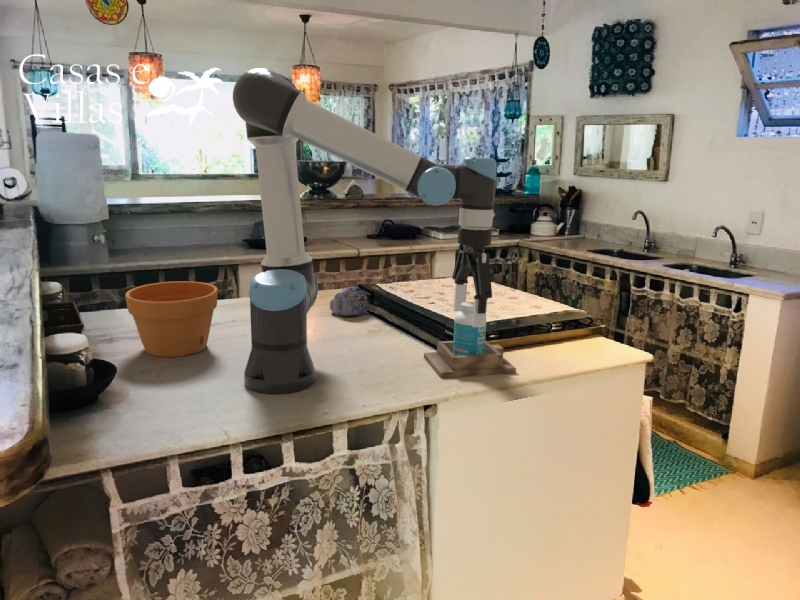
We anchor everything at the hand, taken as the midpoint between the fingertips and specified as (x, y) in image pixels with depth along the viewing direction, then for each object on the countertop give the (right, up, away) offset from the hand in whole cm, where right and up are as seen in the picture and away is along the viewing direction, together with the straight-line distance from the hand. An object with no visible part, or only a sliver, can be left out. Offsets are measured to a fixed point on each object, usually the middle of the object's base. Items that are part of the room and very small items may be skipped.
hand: (468, 318), depth 150 cm
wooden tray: (0, -11, +3) cm, 11 cm away
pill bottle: (0, -10, +2) cm, 10 cm away
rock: (-32, 0, +46) cm, 56 cm away
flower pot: (-71, -8, +10) cm, 73 cm away
